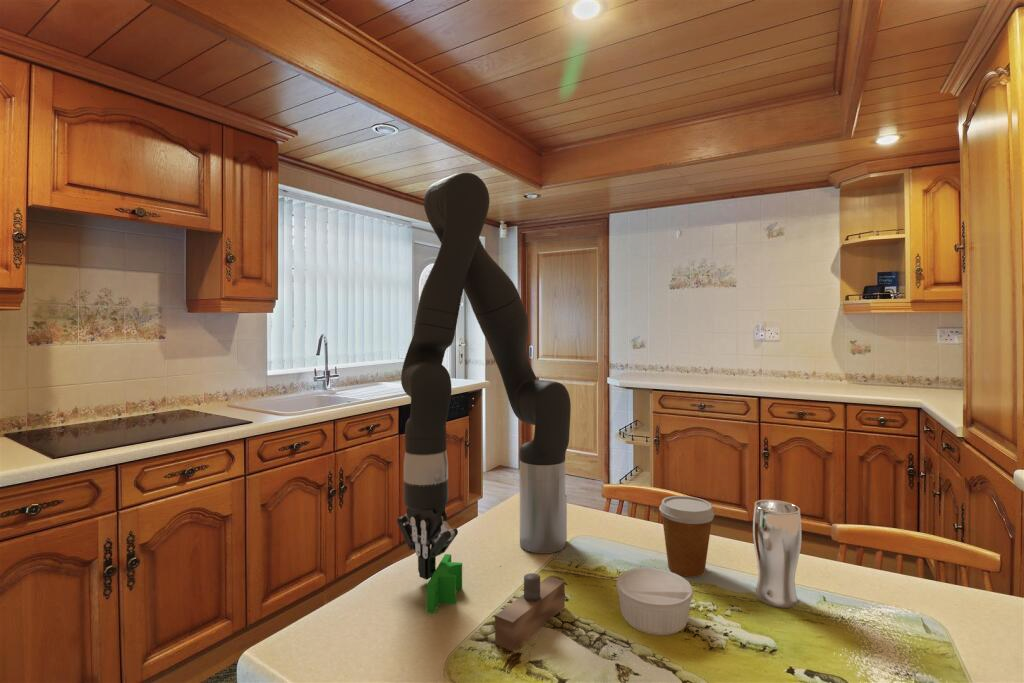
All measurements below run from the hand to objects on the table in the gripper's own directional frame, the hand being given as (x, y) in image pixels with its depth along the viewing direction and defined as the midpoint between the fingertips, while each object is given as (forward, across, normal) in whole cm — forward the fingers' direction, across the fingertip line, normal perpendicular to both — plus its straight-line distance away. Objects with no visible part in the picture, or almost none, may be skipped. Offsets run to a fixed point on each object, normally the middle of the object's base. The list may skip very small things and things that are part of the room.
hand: (426, 576), depth 89 cm
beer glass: (+1, -49, -30) cm, 58 cm away
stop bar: (+1, -22, 0) cm, 22 cm away
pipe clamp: (+1, -6, +1) cm, 6 cm away
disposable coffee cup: (+1, -34, -31) cm, 47 cm away
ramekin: (+1, -36, -12) cm, 38 cm away
